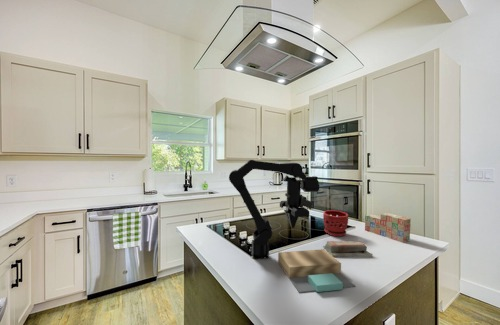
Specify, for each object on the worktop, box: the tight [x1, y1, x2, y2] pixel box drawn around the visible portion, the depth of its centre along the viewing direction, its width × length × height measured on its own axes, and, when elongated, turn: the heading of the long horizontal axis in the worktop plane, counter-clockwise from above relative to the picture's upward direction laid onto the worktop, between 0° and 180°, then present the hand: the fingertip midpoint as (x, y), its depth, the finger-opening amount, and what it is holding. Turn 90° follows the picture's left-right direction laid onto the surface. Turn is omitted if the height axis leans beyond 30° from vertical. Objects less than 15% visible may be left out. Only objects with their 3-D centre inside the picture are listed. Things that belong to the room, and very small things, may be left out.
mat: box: [288, 272, 356, 294], centre depth 73 cm, size 20×8×1 cm, turn 101°
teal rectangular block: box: [308, 273, 344, 293], centre depth 71 cm, size 9×6×2 cm, turn 101°
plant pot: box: [322, 209, 349, 237], centre depth 121 cm, size 13×13×12 cm
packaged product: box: [323, 240, 373, 258], centre depth 98 cm, size 18×5×10 cm
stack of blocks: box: [364, 212, 411, 243], centre depth 121 cm, size 21×6×12 cm, turn 28°
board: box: [277, 248, 342, 279], centre depth 83 cm, size 20×12×4 cm, turn 101°
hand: (292, 227), depth 93 cm, fingers closed
